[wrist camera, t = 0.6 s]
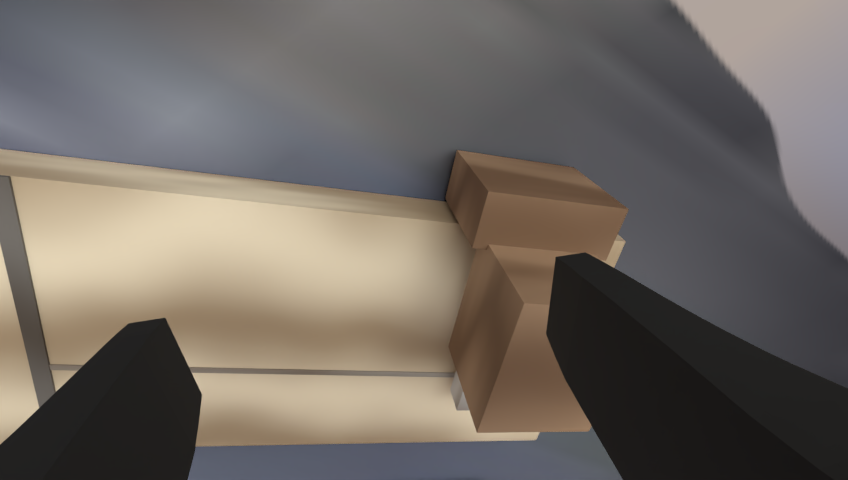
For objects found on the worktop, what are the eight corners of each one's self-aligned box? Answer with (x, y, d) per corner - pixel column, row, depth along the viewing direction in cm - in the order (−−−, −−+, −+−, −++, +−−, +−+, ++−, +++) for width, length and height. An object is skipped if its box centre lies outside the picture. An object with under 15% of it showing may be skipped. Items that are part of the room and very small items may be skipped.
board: (522, 409, 26) (536, 441, 24) (17, 410, 20) (-13, 452, 18) (600, 219, 21) (627, 242, 19) (-54, 142, 15) (-107, 165, 13)
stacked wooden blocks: (503, 360, 23) (566, 496, 17) (406, 357, 22) (437, 503, 16) (573, 167, 19) (694, 259, 13) (457, 150, 18) (527, 242, 11)
